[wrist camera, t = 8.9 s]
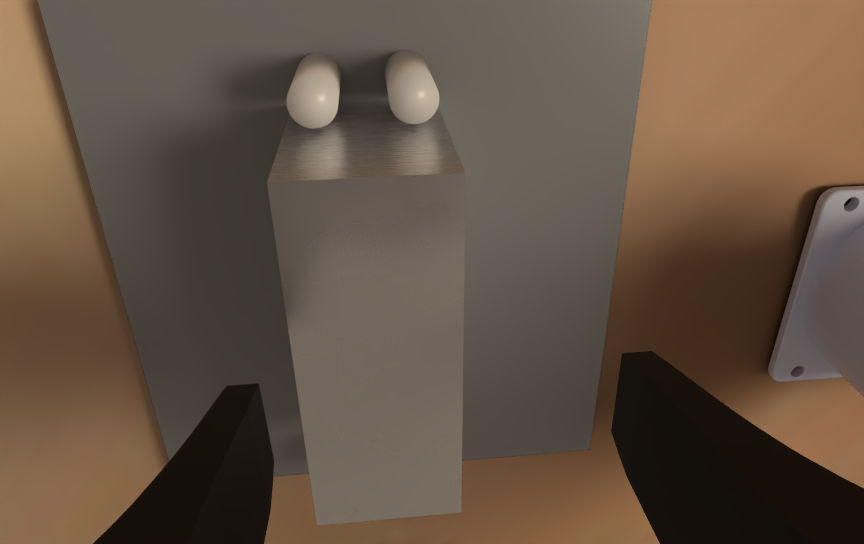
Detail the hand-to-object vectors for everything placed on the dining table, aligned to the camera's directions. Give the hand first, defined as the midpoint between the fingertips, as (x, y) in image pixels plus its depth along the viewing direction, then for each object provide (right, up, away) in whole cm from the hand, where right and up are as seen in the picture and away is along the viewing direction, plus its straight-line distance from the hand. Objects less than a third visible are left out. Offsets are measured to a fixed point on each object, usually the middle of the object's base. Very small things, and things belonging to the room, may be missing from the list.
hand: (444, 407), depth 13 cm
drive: (-2, +3, +8) cm, 9 cm away
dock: (-2, +3, +9) cm, 10 cm away
